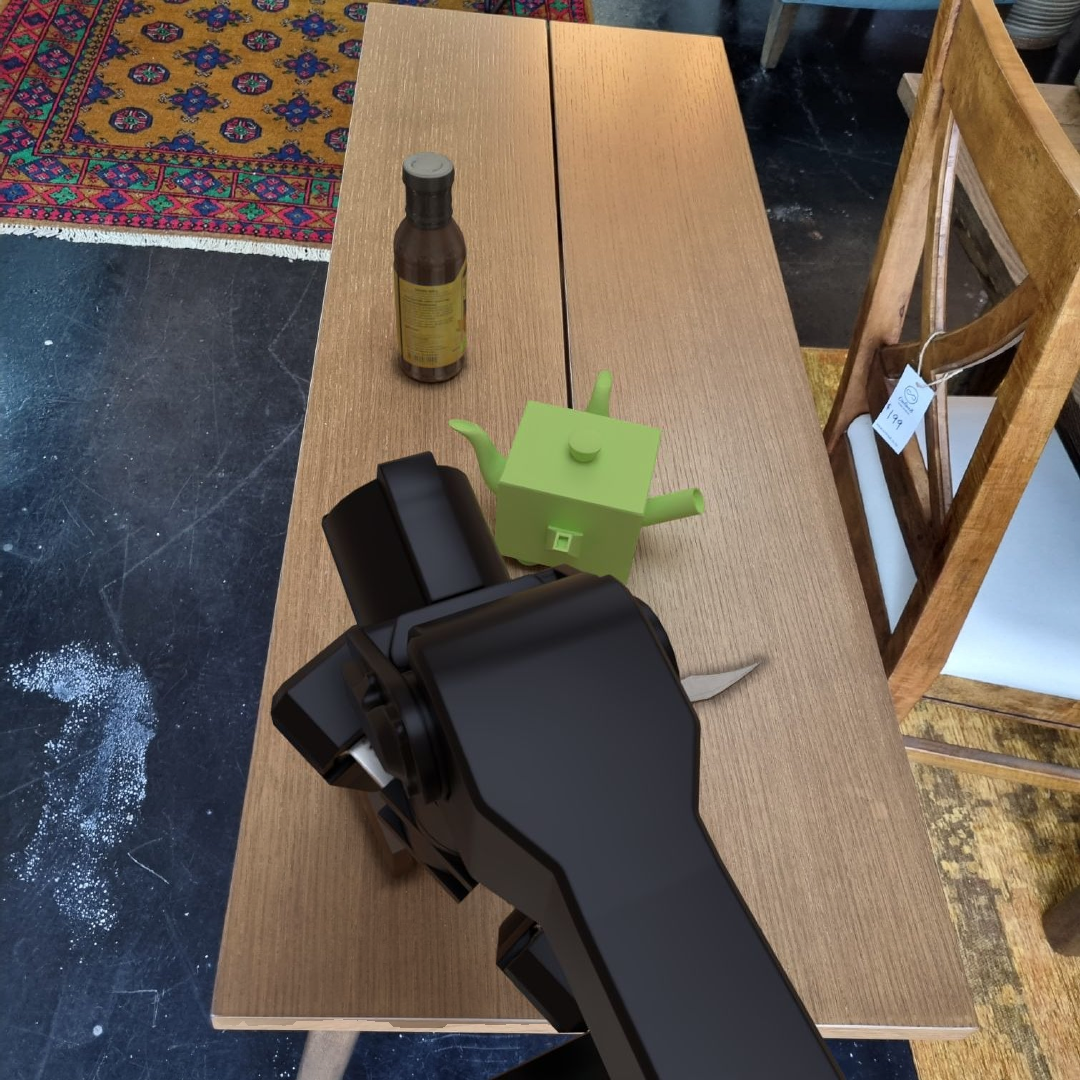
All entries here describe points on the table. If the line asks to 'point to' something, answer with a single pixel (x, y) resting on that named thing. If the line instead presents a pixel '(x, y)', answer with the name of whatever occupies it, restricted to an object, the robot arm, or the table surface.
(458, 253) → the sauce bottle
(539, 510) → the kettle
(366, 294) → the table surface
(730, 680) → the knife
